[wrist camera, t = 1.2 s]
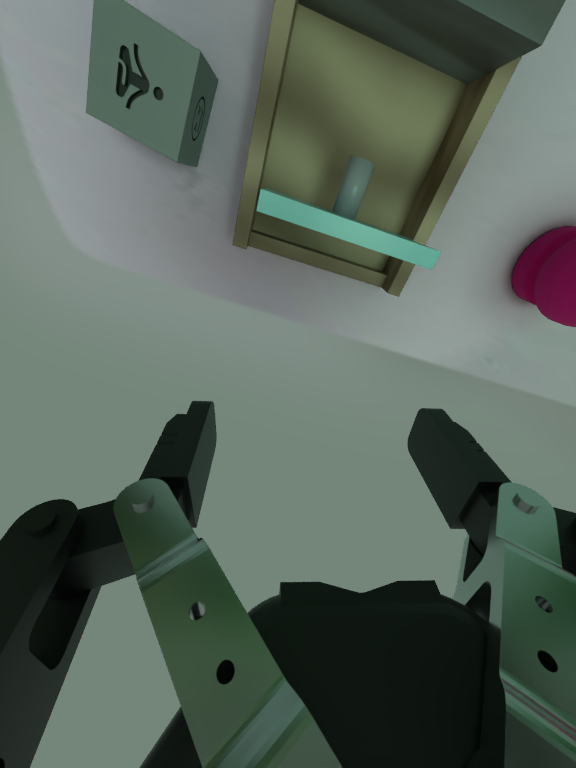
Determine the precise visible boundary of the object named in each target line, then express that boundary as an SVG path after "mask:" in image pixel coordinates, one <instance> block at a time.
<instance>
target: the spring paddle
mask: <svg viewBox="0 0 576 768" xmlns="http://www.w3.org/2000/svg"><path fill="white" fill-rule="evenodd" d="M374 167H375V164H374V163H372V162H371V161H368V160H366V159H363V158H360V157H357V156H352V155H351V156H350V158H349V161H348V164H347V167H346V170H345V173H344V176H343V179H342V182H341V185H340V188H339V191H338V194H337V197H336V200H335V204H334V207H333V210H329V209H326V208H323V207H321V206H318V205H315V204H312V203H309V202H306V201H304V200H301V199H298V198H295V197H292V196H289V195H287V194H284V193H281V192H278V191H275V190H272V189H270V188H262V189H261V190H260V195H259V200H258V205H257V210H256V211H258V212H261V213H264V214H267V215H270V216H273V217H276V218H279V219H282V220H285V221H288V222H291V223H294V224H297V225H300V226H303V227H306V228H309V229H312V230H315V231H318V232H321V233H324V234H327V235H330V236H333V237H336V238H339V239H342V240H345V241H348V242H351V243H354V244H357V245H360V246H363V247H366V248H369V249H372V250H374V251H377V252H380V253H383V254H386V255H389V256H392V257H395V258H398V259H401V260H404V261H407V262H410V263H413V264H416V265H419V266H422V267H425V268H428V269H431V270H432V268H433V266H434V265H435V263H436V261H437V259H438V257H439V256H440V254H441V252H440V251H437V250H435V249H433V248H430V247H428V246H425V245H423V244H421V243H418V242H416V241H414V240H411V239H409V238H406V237H404V236H402V235H399V234H397V233H394V232H391V231H389V230H386V229H383V228H380V227H377V226H374V225H372V224H369V223H366V222H363V221H360V220H357V219H355V218H356V216H357V213H358V210H359V207H360V205H361V202H362V199H363V197H364V194H365V191H366V189H367V186H368V183H369V181H370V178H371V175H372V173H373V170H374Z"/></svg>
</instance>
